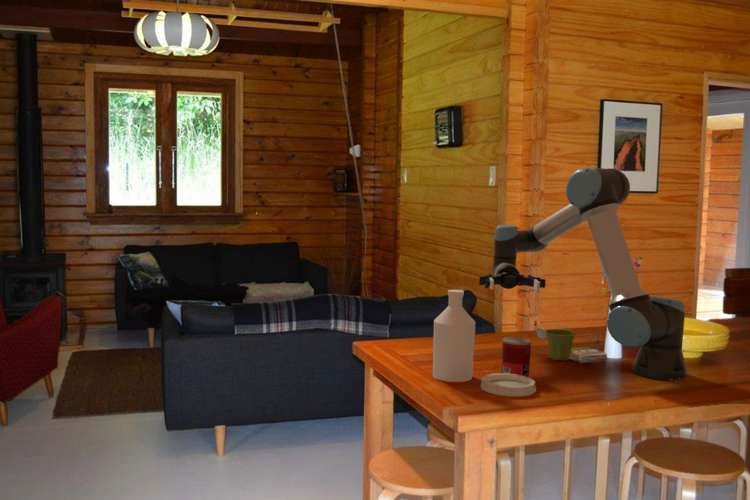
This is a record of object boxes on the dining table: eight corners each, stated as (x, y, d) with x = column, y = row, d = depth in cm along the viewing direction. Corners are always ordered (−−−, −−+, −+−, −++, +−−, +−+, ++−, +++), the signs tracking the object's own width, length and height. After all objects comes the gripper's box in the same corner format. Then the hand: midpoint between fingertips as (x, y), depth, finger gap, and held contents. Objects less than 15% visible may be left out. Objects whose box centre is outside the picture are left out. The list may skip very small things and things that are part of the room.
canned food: (529, 381, 221) (530, 343, 219) (500, 379, 222) (502, 341, 221) (529, 374, 228) (531, 338, 227) (501, 372, 230) (503, 336, 228)
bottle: (477, 374, 227) (481, 289, 224) (466, 384, 216) (470, 295, 213) (438, 369, 232) (442, 286, 229) (426, 378, 221) (429, 292, 218)
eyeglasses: (533, 337, 281) (534, 326, 281) (571, 333, 290) (572, 323, 289) (562, 346, 268) (563, 335, 267) (601, 342, 276) (602, 331, 276)
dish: (539, 384, 218) (539, 376, 217) (532, 399, 203) (532, 390, 203) (485, 378, 222) (486, 370, 222) (475, 392, 208) (476, 384, 208)
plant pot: (561, 363, 242) (562, 336, 241) (538, 357, 249) (539, 330, 249) (580, 360, 247) (582, 333, 247) (557, 353, 255) (559, 327, 254)
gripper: (545, 288, 253) (556, 300, 232) (468, 285, 254) (472, 296, 233) (546, 265, 252) (558, 275, 231) (469, 262, 253) (474, 272, 232)
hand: (515, 286), depth 232 cm, fingers open, 13 cm apart
